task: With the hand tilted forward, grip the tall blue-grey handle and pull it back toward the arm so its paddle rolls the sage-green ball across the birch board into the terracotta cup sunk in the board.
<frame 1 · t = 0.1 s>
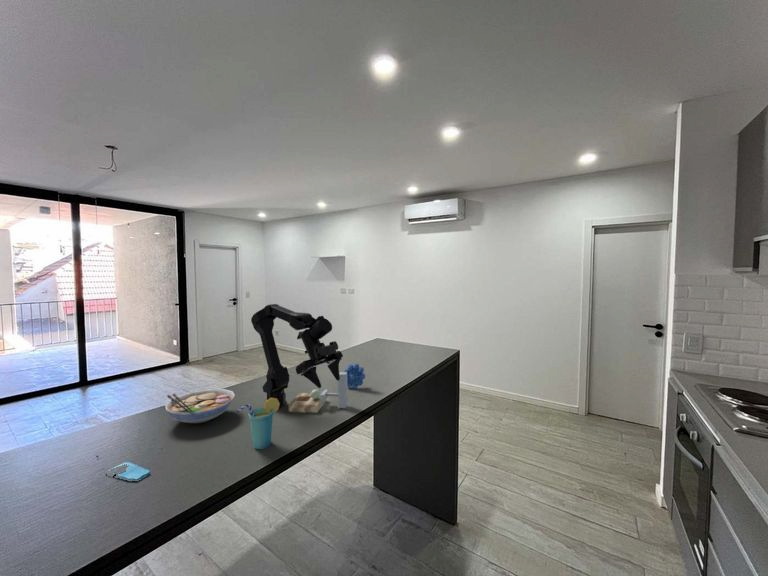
hand: (329, 383, 115), 15 cm above the breakfast bar, tool tilted 35°, fingers open, 9 cm apart
pull handle: (334, 389, 130), point 7 cm above the breakfast bar, slide at 0.0 cm
cup: (259, 446, 102), on the breakfast bar
ball: (315, 394, 131), point 5 cm above the breakfast bar, touching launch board
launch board: (308, 405, 132), on the breakfast bar
ramen bowl: (202, 419, 121), on the breakfast bar
grapes: (355, 388, 152), on the breakfast bar
sponge: (128, 476, 88), on the breakfast bar
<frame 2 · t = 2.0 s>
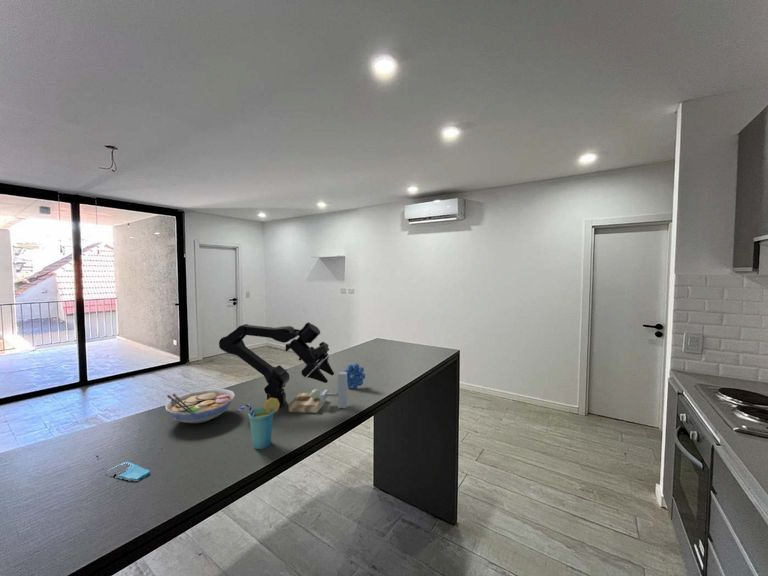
hand: (330, 378, 130), 12 cm above the breakfast bar, tool tilted 45°, fingers open, 9 cm apart
nothing on the breakfast bar moved.
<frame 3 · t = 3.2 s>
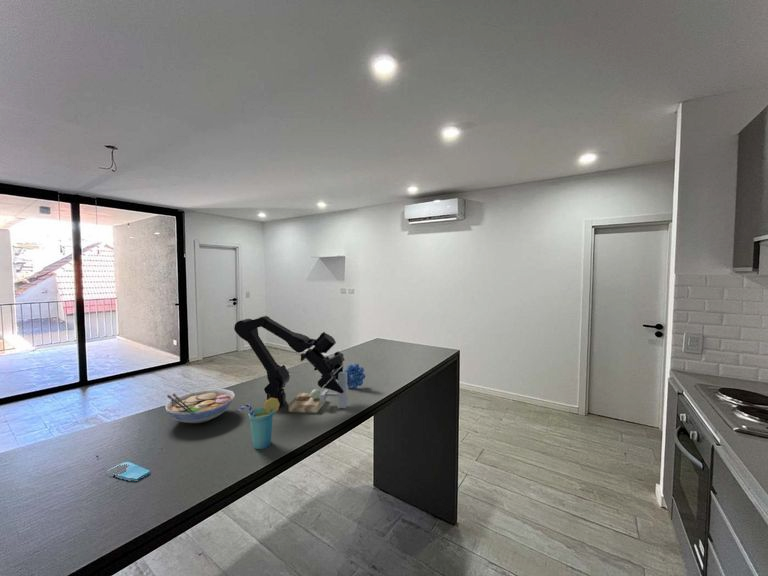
hand: (345, 388, 130), 8 cm above the breakfast bar, tool tilted 45°, fingers open, 9 cm apart
nothing on the breakfast bar moved.
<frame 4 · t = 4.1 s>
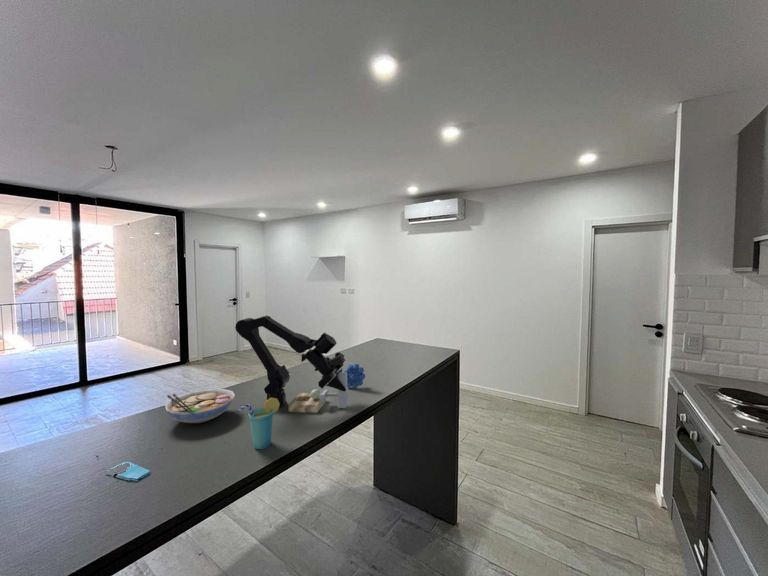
hand: (346, 389, 130), 8 cm above the breakfast bar, tool tilted 45°, fingers closed on pull handle, 3 cm apart
pull handle: (334, 389, 130), point 7 cm above the breakfast bar, slide at 0.0 cm, touching gripper
everything else where it was.
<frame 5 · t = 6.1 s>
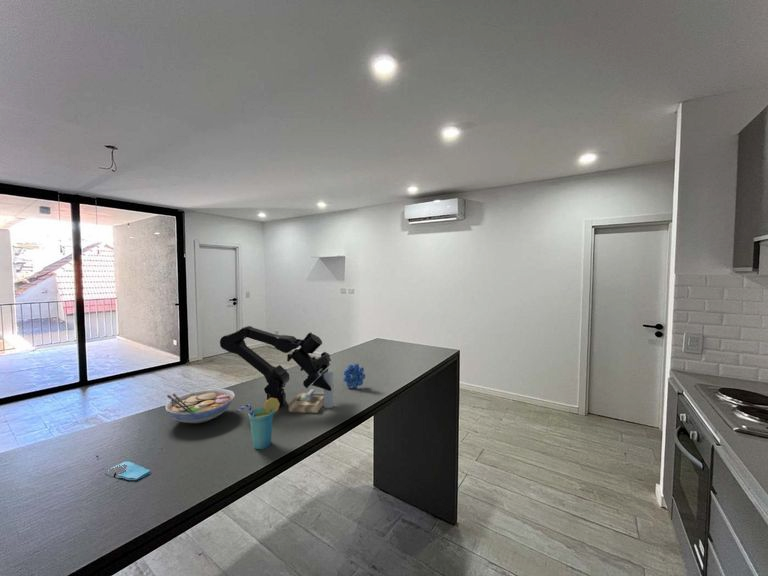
hand: (331, 388, 130), 8 cm above the breakfast bar, tool tilted 45°, fingers closed on pull handle, 3 cm apart
pull handle: (320, 389, 131), point 7 cm above the breakfast bar, slide at 5.9 cm, touching ball, gripper
ball: (304, 400, 132), point 2 cm above the breakfast bar, tilted 160°, touching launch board, pull handle
everything else where it was.
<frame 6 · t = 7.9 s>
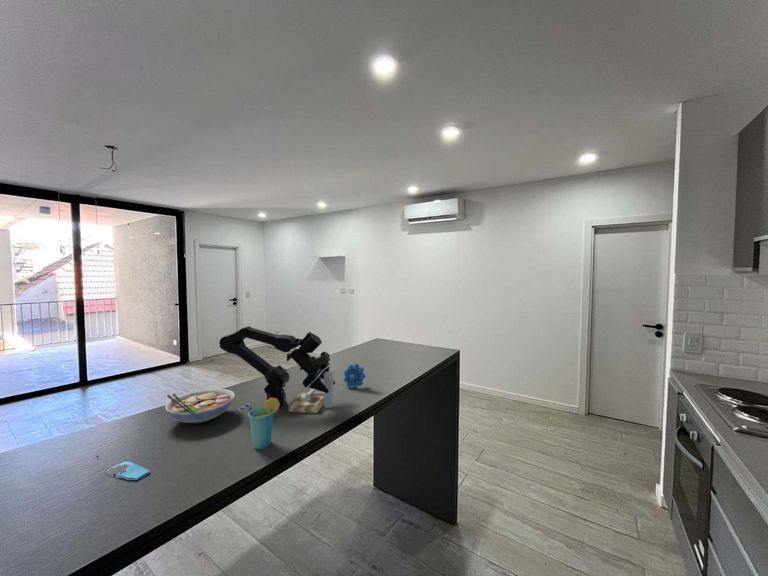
hand: (331, 388, 130), 8 cm above the breakfast bar, tool tilted 45°, fingers open, 9 cm apart
pull handle: (320, 389, 131), point 7 cm above the breakfast bar, slide at 5.9 cm, touching ball
everything else where it was.
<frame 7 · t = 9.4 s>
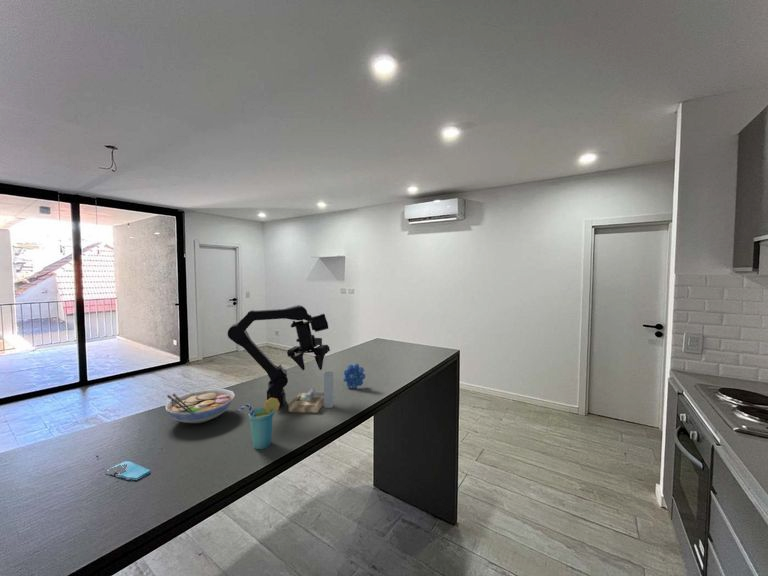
hand: (312, 369, 138), 13 cm above the breakfast bar, tool pointing down, fingers open, 9 cm apart
nothing on the breakfast bar moved.
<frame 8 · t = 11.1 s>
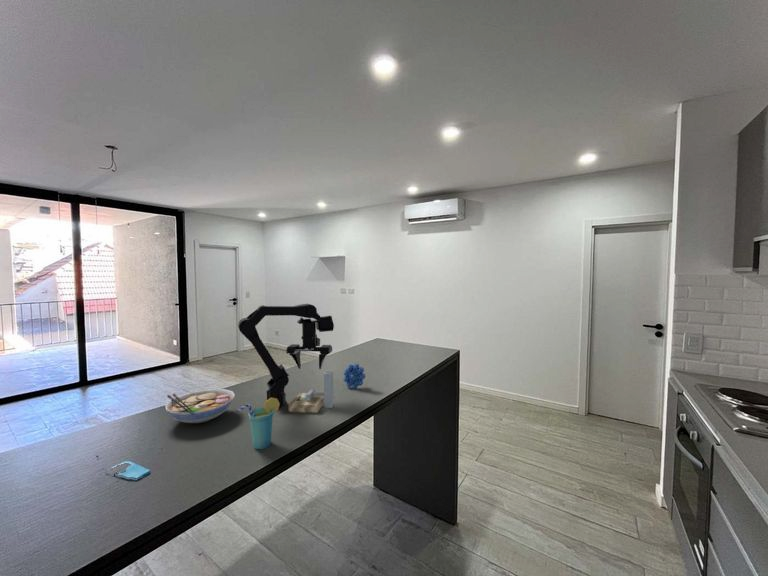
hand: (309, 368, 139), 13 cm above the breakfast bar, tool pointing down, fingers open, 9 cm apart
nothing on the breakfast bar moved.
at the end: ball 0.4 cm from the target spot on the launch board, point 2.4 cm above the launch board's base; pull handle slide at 5.9 cm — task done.
